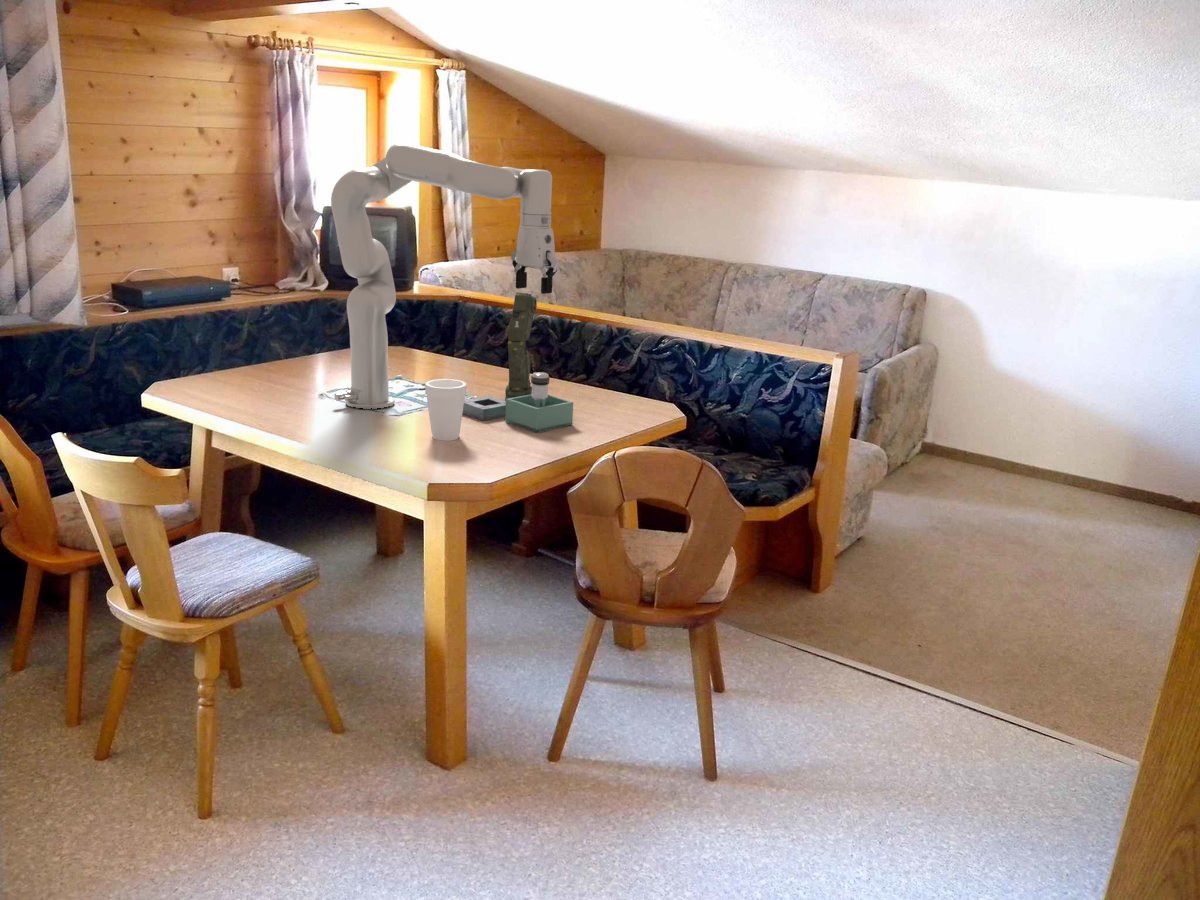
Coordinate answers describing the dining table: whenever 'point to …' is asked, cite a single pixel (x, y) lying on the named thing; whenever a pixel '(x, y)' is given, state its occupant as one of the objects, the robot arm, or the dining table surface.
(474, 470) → the dining table surface
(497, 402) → the socket block
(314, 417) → the dining table surface
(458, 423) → the foam cup
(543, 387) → the metal peg
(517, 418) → the bin
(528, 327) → the mechanical leg
